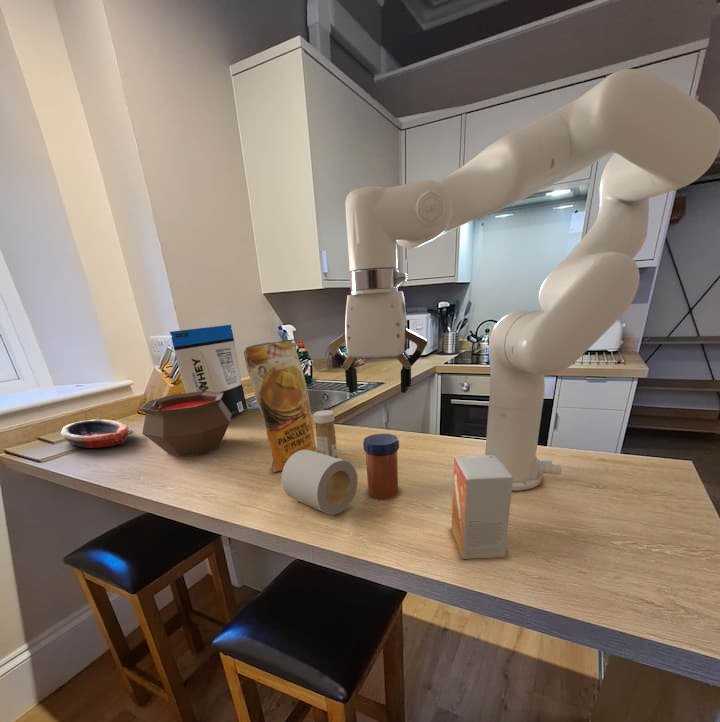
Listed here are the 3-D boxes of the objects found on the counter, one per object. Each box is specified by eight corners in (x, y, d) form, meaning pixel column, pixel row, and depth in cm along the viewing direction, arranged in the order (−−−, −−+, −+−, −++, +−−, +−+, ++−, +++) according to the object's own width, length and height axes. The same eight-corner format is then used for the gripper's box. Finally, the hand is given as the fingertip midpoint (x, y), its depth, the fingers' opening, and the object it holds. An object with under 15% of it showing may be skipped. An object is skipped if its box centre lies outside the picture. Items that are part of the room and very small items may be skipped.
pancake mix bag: (255, 472, 92) (231, 347, 80) (306, 446, 106) (292, 337, 94) (277, 477, 88) (255, 347, 77) (326, 449, 103) (314, 336, 91)
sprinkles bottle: (342, 469, 90) (337, 412, 85) (325, 474, 88) (318, 416, 82) (332, 463, 94) (327, 408, 88) (316, 468, 92) (309, 412, 86)
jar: (400, 486, 80) (399, 436, 76) (395, 500, 75) (393, 447, 70) (372, 484, 82) (369, 435, 77) (364, 498, 76) (361, 446, 72)
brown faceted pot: (213, 463, 99) (198, 399, 92) (129, 463, 103) (108, 402, 96) (252, 433, 120) (242, 379, 113) (181, 434, 124) (167, 382, 117)
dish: (105, 427, 138) (100, 413, 136) (145, 441, 120) (140, 425, 118) (54, 440, 127) (48, 426, 125) (90, 458, 109) (83, 441, 107)
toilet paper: (285, 507, 75) (277, 459, 71) (323, 488, 82) (318, 443, 77) (320, 523, 69) (314, 471, 65) (359, 501, 75) (355, 453, 71)
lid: (401, 443, 76) (401, 434, 76) (395, 456, 71) (394, 445, 70) (368, 442, 78) (368, 433, 77) (360, 454, 72) (359, 444, 72)
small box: (450, 530, 64) (453, 456, 59) (489, 528, 64) (495, 454, 58) (461, 560, 57) (466, 479, 51) (505, 558, 57) (515, 476, 51)
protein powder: (255, 409, 147) (240, 324, 135) (203, 428, 129) (179, 331, 116) (238, 407, 152) (221, 325, 139) (184, 425, 134) (160, 332, 121)
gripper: (431, 279, 63) (430, 386, 71) (330, 287, 68) (339, 387, 75) (425, 278, 57) (424, 396, 64) (314, 287, 62) (325, 396, 69)
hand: (378, 391), depth 70 cm, fingers open, 9 cm apart
